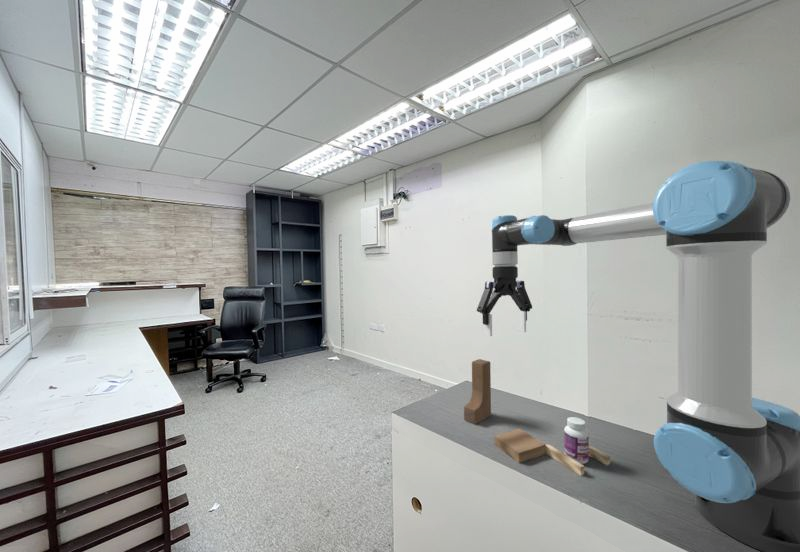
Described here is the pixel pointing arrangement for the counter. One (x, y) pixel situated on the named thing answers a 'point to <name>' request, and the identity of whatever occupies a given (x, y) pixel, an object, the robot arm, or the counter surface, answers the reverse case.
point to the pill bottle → (576, 440)
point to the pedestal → (520, 445)
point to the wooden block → (479, 393)
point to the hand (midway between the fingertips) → (505, 333)
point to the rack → (574, 464)
